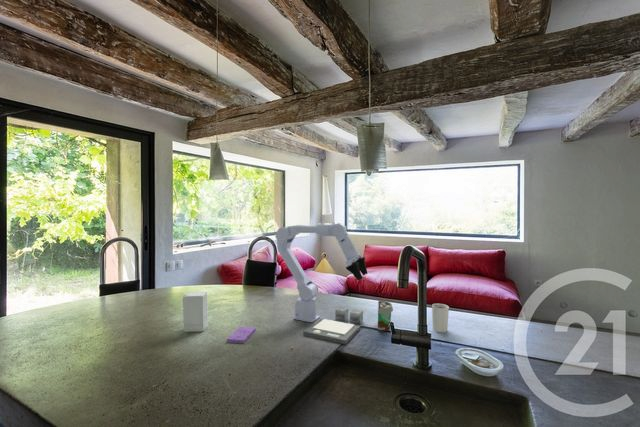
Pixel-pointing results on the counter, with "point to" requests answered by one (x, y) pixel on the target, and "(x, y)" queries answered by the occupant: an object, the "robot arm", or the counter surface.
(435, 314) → the white cup
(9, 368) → the counter surface
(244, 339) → the sponges
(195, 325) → the skincare box
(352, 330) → the kitchen scale
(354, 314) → the block
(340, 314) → the block
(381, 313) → the food container
